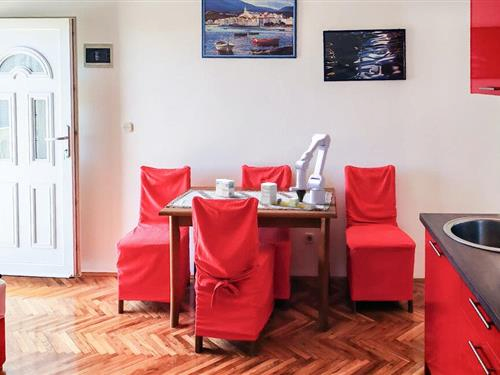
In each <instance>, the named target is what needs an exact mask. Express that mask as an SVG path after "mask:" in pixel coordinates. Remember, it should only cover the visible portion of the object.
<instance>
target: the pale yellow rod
mask: <svg viewBox="0 0 500 375" xmlns="http://www.w3.org/2000/svg"><path fill="white" fill-rule="evenodd" d="M282 200H283V199H282V198H280V197H279V198H278V199H277V201H274V204H273V205H275V206H276V205H277V206H285V207H290V206H289V204H290V201H289V202H288V201H282ZM306 204H307V203H300V202H299V203H296V207H295V208H300V209H301V208H302V209H305V205H306Z"/></svg>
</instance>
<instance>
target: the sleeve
mask: <svg viewBox="0 0 500 375" xmlns="http://www.w3.org/2000/svg"><path fill="white" fill-rule="evenodd" d="M289 202H290V204H289V206H288V207H291V208H297V207H296V203H299V204H300V202H299V199H298V197H291V198H289Z"/></svg>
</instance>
